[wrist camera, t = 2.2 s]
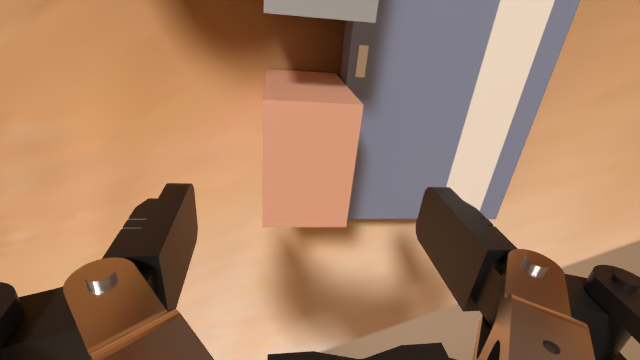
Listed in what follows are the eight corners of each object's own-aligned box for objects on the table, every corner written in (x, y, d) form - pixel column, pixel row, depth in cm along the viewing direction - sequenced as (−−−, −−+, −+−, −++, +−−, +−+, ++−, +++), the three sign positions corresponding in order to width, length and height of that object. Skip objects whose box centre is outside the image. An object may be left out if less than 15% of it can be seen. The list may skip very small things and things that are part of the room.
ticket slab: (602, -141, 16) (642, -159, 15) (480, 204, 26) (495, 219, 24) (367, -184, 15) (380, -210, 13) (326, 203, 24) (330, 219, 22)
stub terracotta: (335, 73, 20) (363, 104, 13) (325, 165, 22) (346, 227, 16) (266, 68, 19) (263, 99, 13) (265, 164, 22) (262, 227, 16)
